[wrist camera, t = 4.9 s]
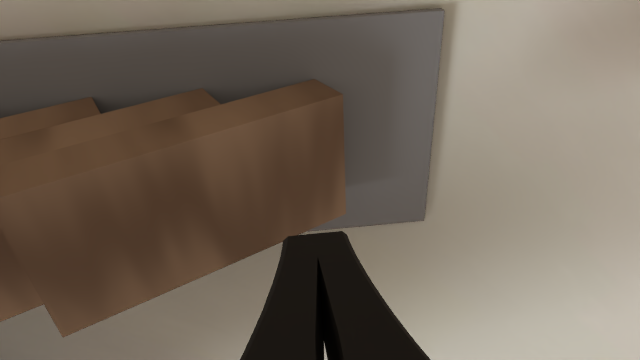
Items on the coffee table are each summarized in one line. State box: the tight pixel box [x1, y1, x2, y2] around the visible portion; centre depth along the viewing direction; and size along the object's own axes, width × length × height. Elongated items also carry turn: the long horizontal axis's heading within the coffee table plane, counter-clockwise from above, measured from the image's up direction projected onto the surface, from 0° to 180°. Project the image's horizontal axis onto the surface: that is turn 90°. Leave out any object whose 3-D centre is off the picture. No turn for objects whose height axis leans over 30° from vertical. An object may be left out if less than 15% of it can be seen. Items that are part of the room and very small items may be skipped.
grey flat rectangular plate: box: [0, 8, 444, 231], centre depth 15 cm, size 8×19×1 cm, turn 93°
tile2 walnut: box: [0, 88, 221, 322], centre depth 13 cm, size 4×2×9 cm
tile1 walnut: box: [0, 79, 346, 337], centre depth 13 cm, size 4×2×9 cm
